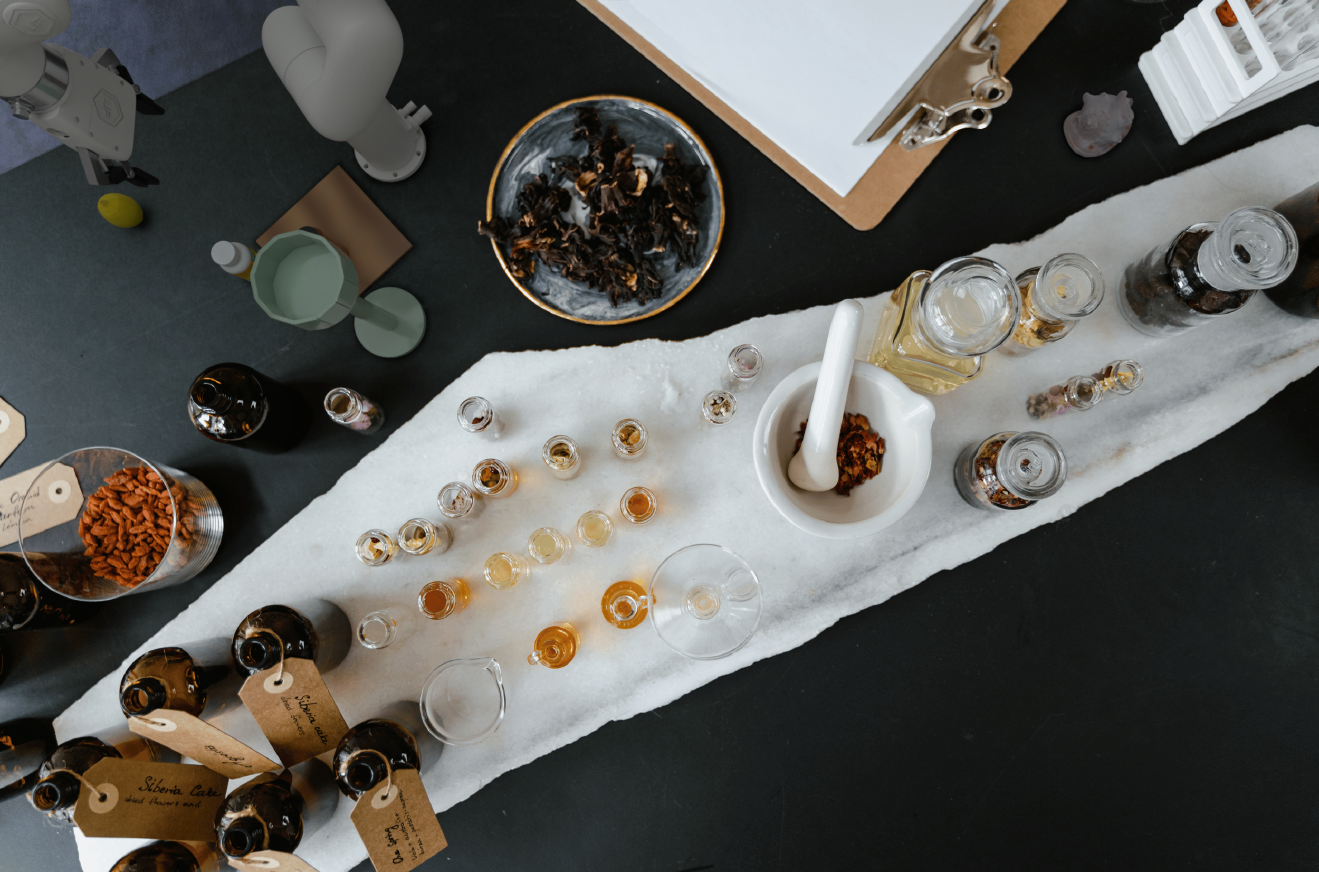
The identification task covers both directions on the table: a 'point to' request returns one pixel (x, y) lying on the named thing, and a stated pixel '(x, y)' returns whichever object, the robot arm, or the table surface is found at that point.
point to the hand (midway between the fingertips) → (152, 147)
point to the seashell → (1099, 124)
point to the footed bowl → (332, 294)
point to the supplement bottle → (234, 258)
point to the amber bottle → (321, 233)
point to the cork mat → (347, 225)
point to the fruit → (120, 210)
